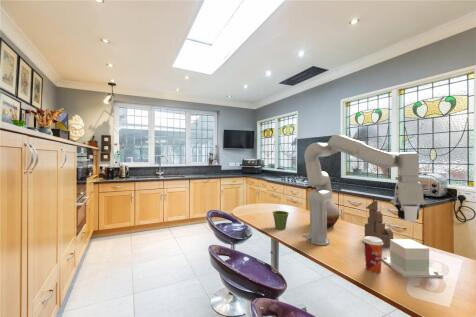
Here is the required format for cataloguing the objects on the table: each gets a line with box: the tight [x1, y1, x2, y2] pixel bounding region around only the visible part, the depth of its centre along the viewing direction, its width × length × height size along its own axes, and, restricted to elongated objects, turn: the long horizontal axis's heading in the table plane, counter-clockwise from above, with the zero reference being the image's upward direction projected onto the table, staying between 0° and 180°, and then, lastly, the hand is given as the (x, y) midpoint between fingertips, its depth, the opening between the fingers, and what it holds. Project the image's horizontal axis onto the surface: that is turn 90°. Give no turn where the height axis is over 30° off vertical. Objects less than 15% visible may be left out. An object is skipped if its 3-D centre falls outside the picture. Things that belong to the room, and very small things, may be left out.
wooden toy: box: [364, 200, 394, 248], centre depth 127 cm, size 15×7×25 cm, turn 16°
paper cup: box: [363, 236, 383, 274], centre depth 96 cm, size 8×8×14 cm
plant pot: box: [272, 210, 290, 231], centre depth 154 cm, size 12×12×11 cm
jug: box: [325, 200, 340, 228], centre depth 158 cm, size 20×18×30 cm
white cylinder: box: [400, 204, 418, 223], centre depth 98 cm, size 7×7×7 cm
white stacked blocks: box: [381, 238, 444, 278], centre depth 98 cm, size 16×16×11 cm
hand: (408, 218), depth 98 cm, fingers closed on white cylinder, 5 cm apart
